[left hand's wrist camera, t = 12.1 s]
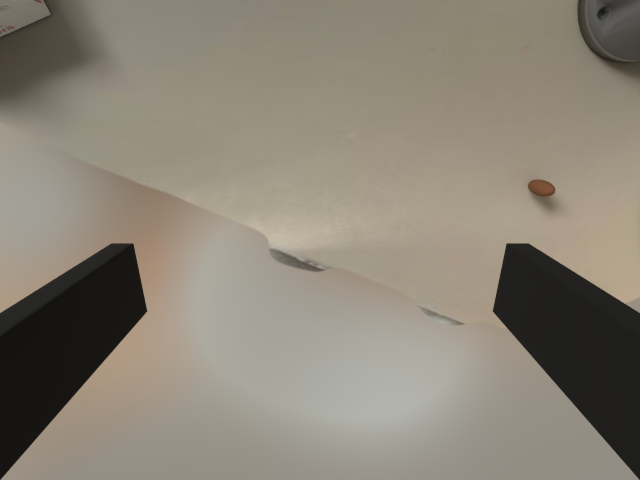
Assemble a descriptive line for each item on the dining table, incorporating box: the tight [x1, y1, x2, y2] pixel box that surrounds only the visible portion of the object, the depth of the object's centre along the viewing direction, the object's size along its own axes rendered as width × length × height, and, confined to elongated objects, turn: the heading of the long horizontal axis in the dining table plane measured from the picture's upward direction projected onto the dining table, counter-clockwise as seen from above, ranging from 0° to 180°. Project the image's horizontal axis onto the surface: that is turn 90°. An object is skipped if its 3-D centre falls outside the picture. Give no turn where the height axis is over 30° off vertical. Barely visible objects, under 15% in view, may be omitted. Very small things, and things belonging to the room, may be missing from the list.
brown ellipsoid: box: [528, 180, 555, 196], centre depth 46 cm, size 2×2×5 cm
